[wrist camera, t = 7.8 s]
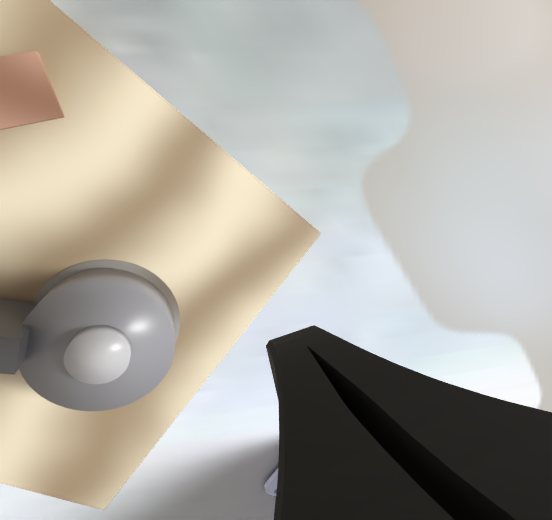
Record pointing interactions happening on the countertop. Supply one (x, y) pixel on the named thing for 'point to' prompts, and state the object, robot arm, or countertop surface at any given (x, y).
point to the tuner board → (119, 239)
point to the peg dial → (90, 340)
